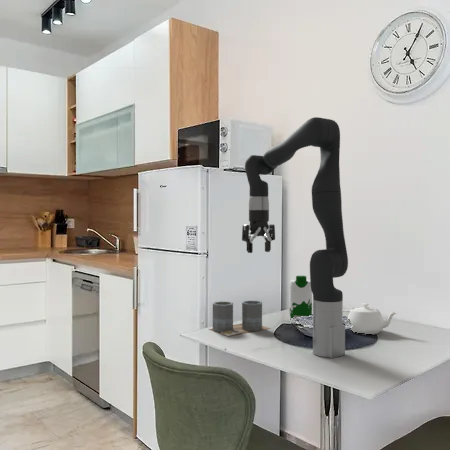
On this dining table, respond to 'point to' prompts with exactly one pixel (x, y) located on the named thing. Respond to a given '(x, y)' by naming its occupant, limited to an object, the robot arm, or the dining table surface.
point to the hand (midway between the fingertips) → (258, 252)
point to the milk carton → (300, 297)
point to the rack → (249, 318)
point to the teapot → (367, 319)
